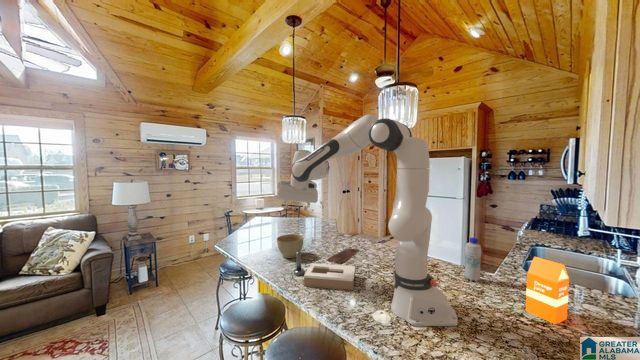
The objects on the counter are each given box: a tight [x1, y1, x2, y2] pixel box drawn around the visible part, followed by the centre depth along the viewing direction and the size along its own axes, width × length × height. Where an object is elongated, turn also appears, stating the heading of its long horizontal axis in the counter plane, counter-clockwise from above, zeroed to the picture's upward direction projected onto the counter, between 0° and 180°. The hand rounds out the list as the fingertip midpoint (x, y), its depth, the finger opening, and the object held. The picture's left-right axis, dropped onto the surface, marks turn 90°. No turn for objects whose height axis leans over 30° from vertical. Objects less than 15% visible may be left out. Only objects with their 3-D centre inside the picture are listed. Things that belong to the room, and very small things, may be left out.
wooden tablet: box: [326, 247, 359, 265], centre depth 150 cm, size 26×2×10 cm
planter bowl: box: [276, 234, 305, 259], centre depth 151 cm, size 16×16×11 cm
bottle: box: [464, 237, 482, 283], centre depth 117 cm, size 7×7×20 cm
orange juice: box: [525, 256, 570, 325], centre depth 89 cm, size 8×9×20 cm
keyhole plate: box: [303, 262, 356, 291], centre depth 118 cm, size 22×14×5 cm, turn 78°
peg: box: [293, 251, 305, 277], centre depth 126 cm, size 5×5×11 cm
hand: (296, 209), depth 127 cm, fingers open, 8 cm apart
